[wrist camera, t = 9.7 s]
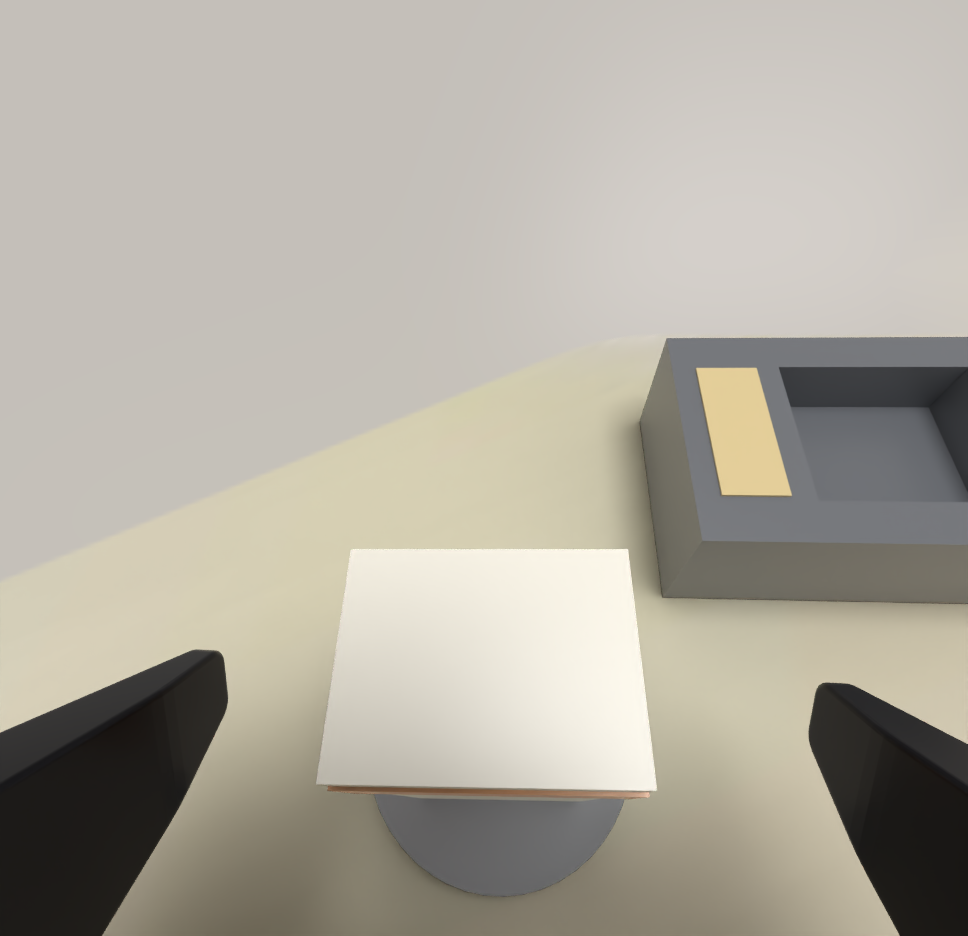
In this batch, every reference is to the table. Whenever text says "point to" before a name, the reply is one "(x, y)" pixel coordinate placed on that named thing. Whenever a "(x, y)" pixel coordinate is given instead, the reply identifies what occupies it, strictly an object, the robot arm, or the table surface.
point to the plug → (488, 677)
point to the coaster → (498, 839)
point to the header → (810, 468)
